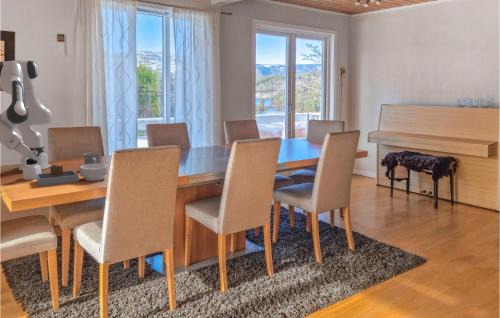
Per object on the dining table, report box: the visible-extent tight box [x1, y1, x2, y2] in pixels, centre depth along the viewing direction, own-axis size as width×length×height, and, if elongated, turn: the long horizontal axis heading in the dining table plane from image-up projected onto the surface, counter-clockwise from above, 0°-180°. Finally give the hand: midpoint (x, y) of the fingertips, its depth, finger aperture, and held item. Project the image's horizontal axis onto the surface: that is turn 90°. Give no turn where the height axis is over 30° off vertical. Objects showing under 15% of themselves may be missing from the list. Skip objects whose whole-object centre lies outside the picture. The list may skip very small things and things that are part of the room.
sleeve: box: [49, 164, 64, 178], centre depth 234 cm, size 6×6×9 cm
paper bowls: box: [79, 163, 109, 182], centre depth 241 cm, size 15×15×8 cm
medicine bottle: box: [22, 158, 42, 180], centre depth 243 cm, size 7×7×12 cm
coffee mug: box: [83, 152, 102, 165], centre depth 268 cm, size 13×10×10 cm
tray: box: [36, 169, 80, 188], centre depth 234 cm, size 15×20×8 cm
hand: (35, 158), depth 227 cm, fingers open, 8 cm apart
